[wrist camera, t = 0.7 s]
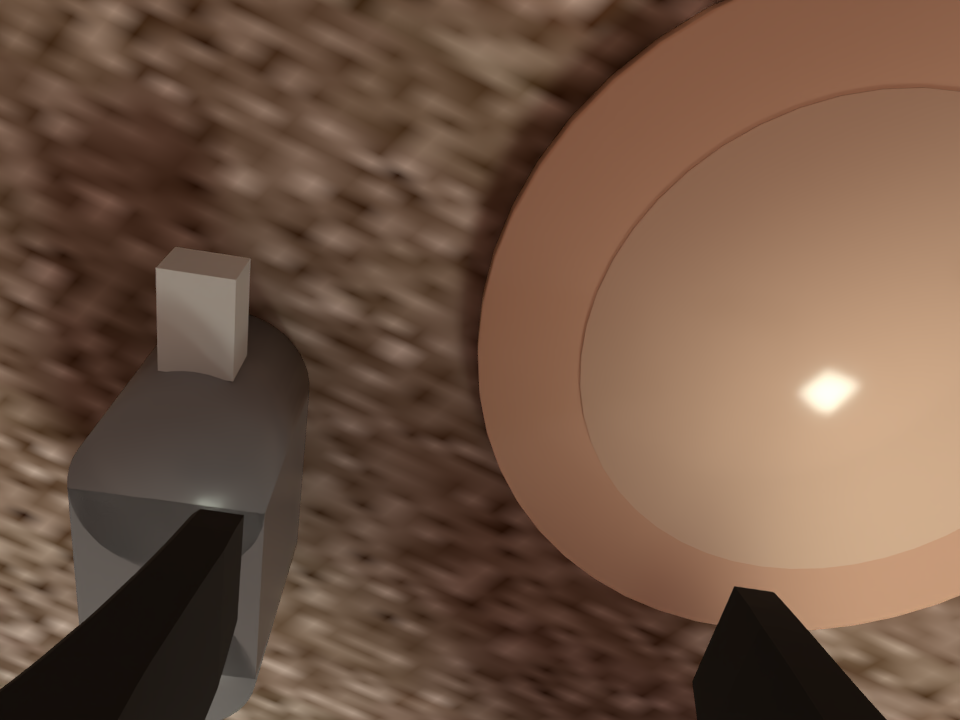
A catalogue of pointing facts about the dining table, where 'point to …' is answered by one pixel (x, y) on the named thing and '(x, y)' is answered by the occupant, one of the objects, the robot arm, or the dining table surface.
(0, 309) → the dining table surface
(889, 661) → the dining table surface
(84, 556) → the connector
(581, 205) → the plate
